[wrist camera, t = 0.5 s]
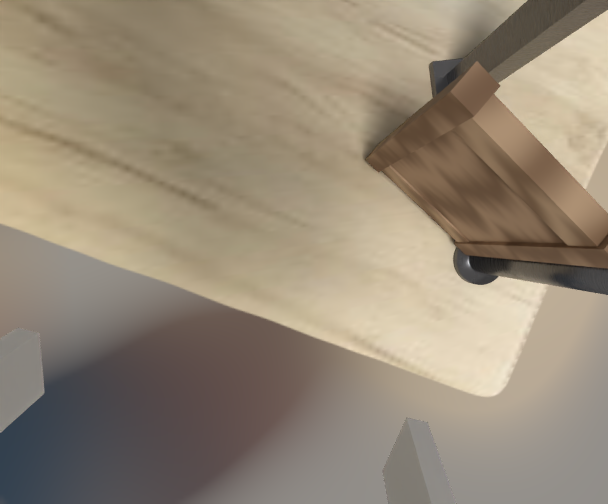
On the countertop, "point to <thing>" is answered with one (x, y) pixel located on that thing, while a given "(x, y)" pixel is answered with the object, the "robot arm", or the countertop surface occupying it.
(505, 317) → the countertop surface
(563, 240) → the walnut gate
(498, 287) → the countertop surface
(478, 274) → the hinge post
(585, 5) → the post
